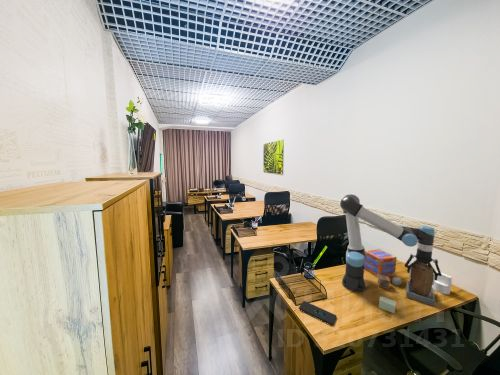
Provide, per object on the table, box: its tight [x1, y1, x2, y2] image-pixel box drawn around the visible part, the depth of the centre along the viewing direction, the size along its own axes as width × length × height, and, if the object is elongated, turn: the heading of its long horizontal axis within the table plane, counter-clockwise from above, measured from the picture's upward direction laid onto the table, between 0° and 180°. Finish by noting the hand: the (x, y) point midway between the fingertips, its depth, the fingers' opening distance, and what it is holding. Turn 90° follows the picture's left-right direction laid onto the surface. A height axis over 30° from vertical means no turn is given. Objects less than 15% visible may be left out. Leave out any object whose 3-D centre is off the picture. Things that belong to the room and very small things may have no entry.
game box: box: [364, 248, 397, 278], centre depth 161 cm, size 16×16×16 cm
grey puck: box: [391, 276, 402, 287], centre depth 146 cm, size 5×5×4 cm
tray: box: [405, 279, 436, 307], centre depth 134 cm, size 14×17×4 cm
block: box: [409, 262, 434, 296], centre depth 133 cm, size 11×8×20 cm
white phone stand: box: [432, 270, 453, 295], centre depth 138 cm, size 9×9×12 cm
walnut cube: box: [377, 275, 391, 290], centre depth 144 cm, size 6×6×6 cm
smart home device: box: [298, 300, 337, 326], centre depth 117 cm, size 8×2×20 cm
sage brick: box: [378, 295, 397, 315], centre depth 121 cm, size 8×5×5 cm, turn 51°
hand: (420, 280), depth 133 cm, fingers closed on block, 11 cm apart
